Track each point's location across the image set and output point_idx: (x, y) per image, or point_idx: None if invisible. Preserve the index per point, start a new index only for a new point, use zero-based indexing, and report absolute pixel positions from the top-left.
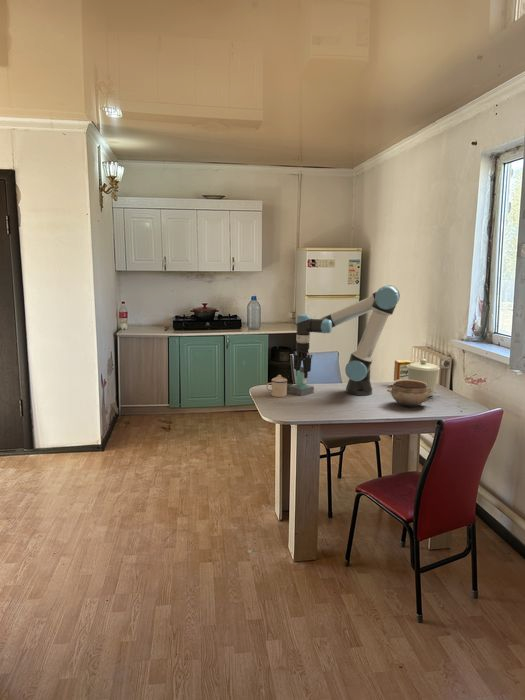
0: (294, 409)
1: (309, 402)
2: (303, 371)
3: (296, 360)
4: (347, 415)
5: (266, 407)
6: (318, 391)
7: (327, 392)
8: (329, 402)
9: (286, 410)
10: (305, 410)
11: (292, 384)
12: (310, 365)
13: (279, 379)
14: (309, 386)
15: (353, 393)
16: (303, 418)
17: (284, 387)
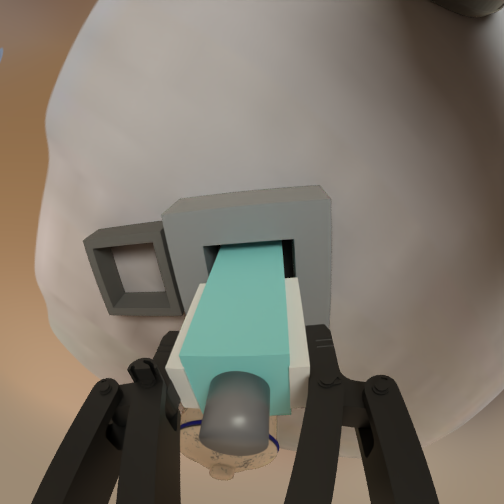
0: (428, 408)
1: (431, 334)
2: (269, 394)
3: (92, 493)
4: None
5: (347, 451)
6: (288, 105)
7: (351, 70)
8: (495, 254)
9: (413, 425)
10: (460, 387)
11: (107, 244)
12: (420, 459)
13: (252, 467)
14: (302, 231)
15: (477, 15)
16: (477, 409)
17: (276, 419)
